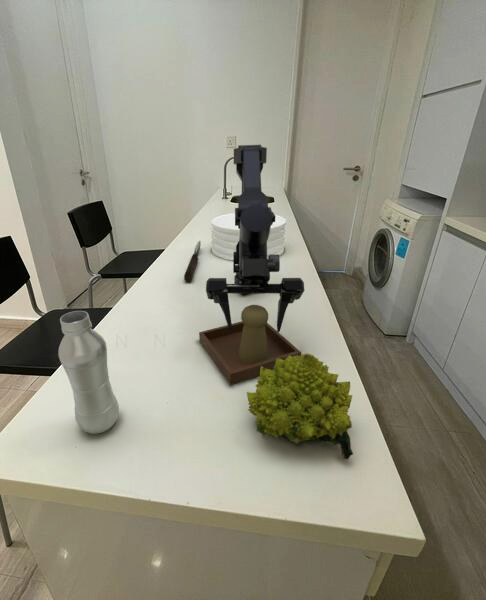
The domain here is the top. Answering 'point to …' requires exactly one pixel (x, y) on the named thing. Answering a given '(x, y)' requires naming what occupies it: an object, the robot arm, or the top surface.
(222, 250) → the plate stack
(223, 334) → the tray
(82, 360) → the plastic bottle
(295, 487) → the top surface
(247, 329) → the cork
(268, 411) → the vegetable
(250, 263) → the robot arm
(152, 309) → the top surface
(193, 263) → the kitchen knife
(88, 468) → the top surface
